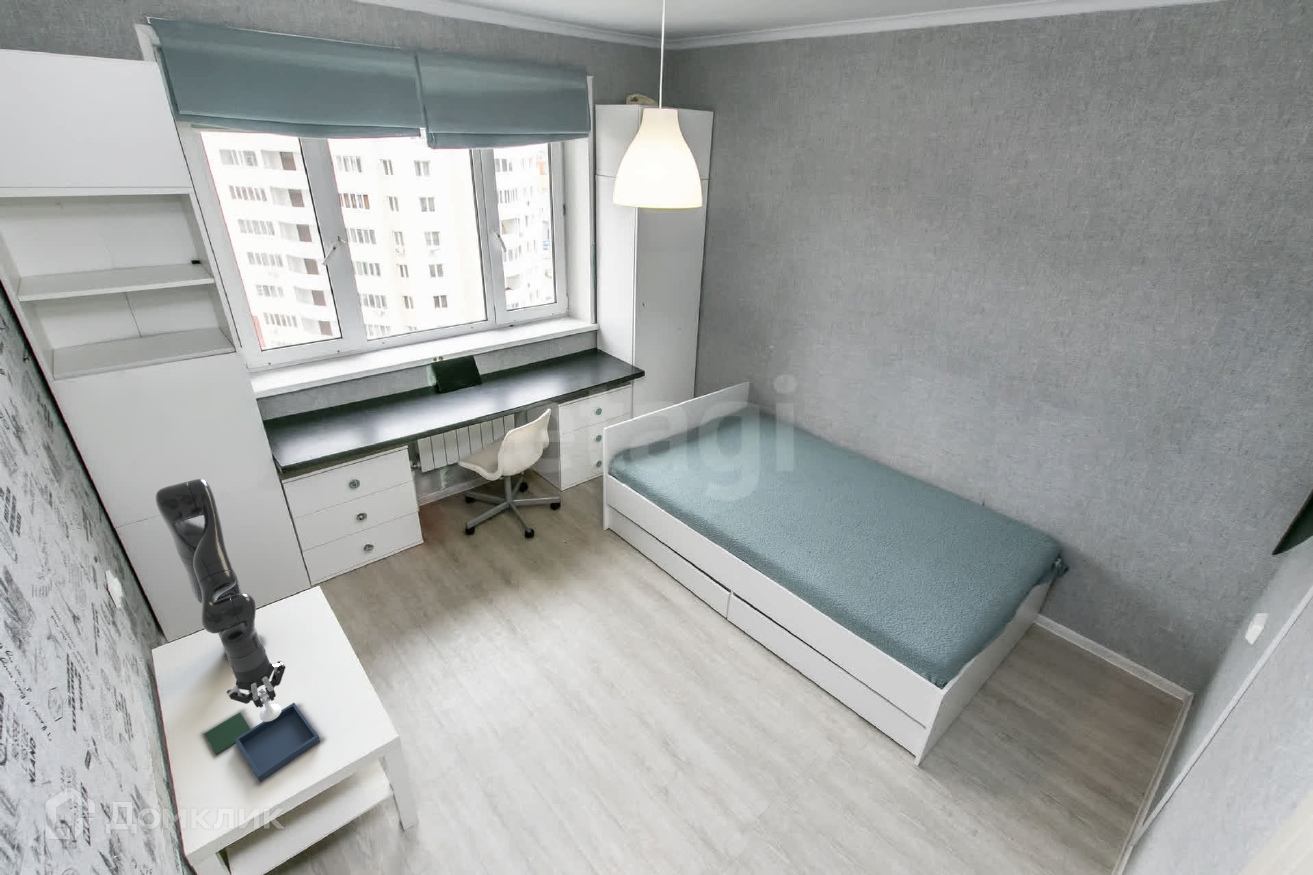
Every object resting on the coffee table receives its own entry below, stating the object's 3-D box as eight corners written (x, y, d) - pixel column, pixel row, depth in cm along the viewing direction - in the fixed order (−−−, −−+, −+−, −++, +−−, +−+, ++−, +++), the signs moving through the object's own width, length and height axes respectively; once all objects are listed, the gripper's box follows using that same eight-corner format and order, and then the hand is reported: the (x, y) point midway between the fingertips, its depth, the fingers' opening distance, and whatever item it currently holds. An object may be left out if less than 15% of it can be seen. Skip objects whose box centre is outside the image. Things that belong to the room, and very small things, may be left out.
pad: (204, 734, 166) (203, 733, 166) (240, 712, 172) (239, 712, 172) (216, 755, 161) (216, 754, 161) (252, 732, 168) (252, 731, 167)
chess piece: (272, 723, 158) (262, 700, 153) (255, 719, 159) (245, 695, 154) (285, 707, 162) (276, 684, 157) (269, 703, 163) (260, 679, 158)
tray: (236, 744, 164) (234, 739, 163) (296, 707, 175) (294, 702, 174) (259, 782, 156) (257, 777, 155) (320, 741, 167) (318, 735, 166)
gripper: (271, 634, 156) (287, 677, 165) (211, 666, 146) (231, 710, 155) (284, 650, 152) (299, 693, 161) (222, 684, 142) (242, 728, 151)
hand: (265, 701), depth 158 cm, fingers closed on chess piece
